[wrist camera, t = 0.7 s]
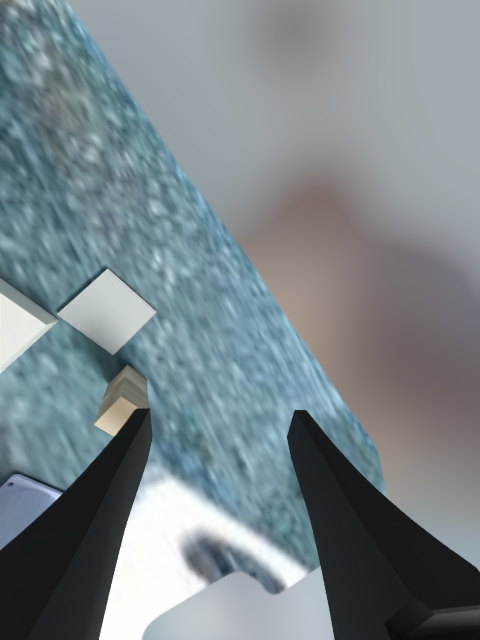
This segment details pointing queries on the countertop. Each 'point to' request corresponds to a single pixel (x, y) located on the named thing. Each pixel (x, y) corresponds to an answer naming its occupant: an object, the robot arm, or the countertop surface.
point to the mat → (107, 312)
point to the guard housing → (19, 324)
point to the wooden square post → (122, 400)
